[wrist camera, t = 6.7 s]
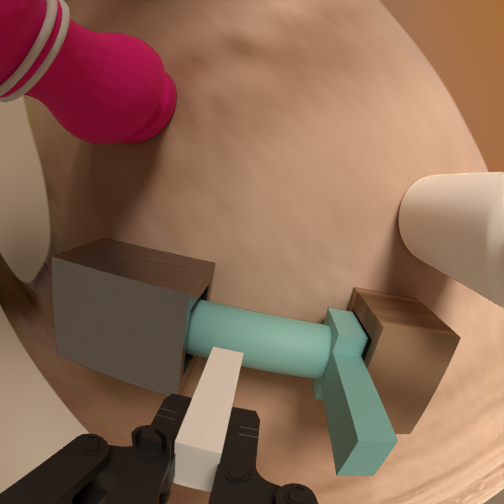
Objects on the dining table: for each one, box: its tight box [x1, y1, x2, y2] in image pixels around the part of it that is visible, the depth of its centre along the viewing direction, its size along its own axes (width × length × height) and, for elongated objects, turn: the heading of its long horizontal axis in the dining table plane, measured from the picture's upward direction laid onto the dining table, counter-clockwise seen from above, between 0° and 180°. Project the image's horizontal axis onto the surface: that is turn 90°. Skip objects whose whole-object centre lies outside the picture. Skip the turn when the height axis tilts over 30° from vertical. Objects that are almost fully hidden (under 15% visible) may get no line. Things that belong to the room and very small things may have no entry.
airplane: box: [185, 299, 398, 476], centre depth 15 cm, size 16×5×11 cm, turn 79°
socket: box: [347, 287, 461, 434], centre depth 18 cm, size 8×6×7 cm
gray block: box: [52, 239, 215, 396], centre depth 19 cm, size 7×9×7 cm
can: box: [399, 172, 504, 308], centre depth 14 cm, size 6×6×12 cm
